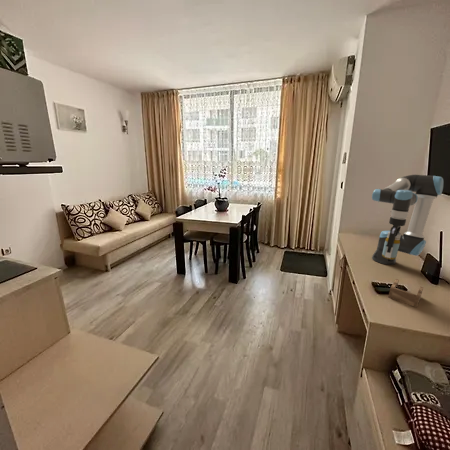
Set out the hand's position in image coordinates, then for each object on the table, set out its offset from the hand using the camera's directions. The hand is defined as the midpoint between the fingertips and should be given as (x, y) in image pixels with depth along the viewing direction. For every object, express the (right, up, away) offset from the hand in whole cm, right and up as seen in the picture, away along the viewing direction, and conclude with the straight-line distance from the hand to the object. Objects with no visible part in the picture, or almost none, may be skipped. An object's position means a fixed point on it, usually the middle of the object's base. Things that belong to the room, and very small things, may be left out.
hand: (389, 255), depth 144 cm
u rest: (+3, -22, -8) cm, 24 cm away
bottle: (0, -1, 0) cm, 1 cm away
